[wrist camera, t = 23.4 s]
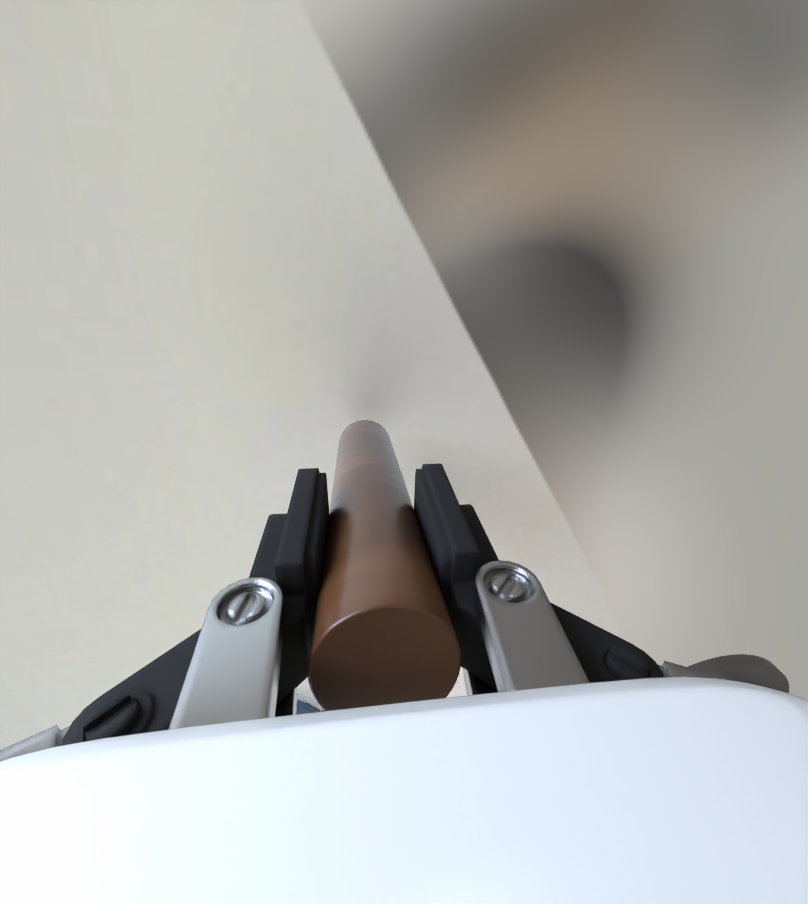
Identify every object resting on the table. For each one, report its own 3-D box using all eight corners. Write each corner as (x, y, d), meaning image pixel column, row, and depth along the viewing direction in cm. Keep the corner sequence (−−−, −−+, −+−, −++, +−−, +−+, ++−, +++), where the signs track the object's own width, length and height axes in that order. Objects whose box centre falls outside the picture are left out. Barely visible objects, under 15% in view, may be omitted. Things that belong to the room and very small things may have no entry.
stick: (394, 424, 20) (477, 612, 6) (385, 472, 20) (444, 731, 7) (343, 416, 19) (317, 599, 6) (336, 465, 20) (298, 728, 7)
